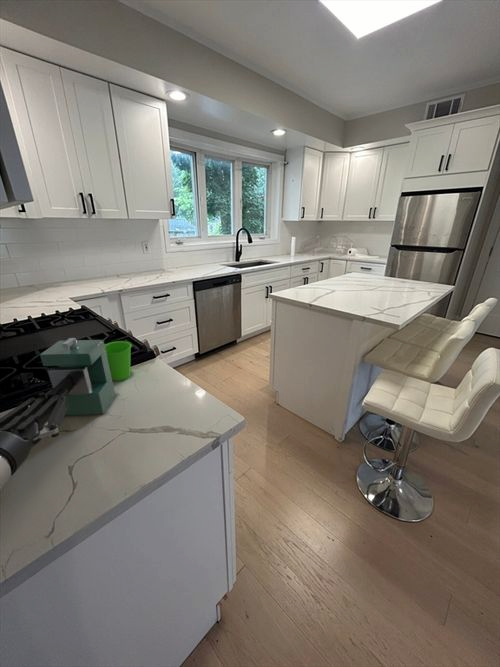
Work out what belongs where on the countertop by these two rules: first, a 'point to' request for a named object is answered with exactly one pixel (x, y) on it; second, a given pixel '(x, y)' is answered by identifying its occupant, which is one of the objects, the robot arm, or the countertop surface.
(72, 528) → the countertop surface
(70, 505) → the countertop surface
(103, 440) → the countertop surface
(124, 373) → the cup
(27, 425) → the robot arm
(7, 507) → the countertop surface
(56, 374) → the plate
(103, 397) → the dispenser
